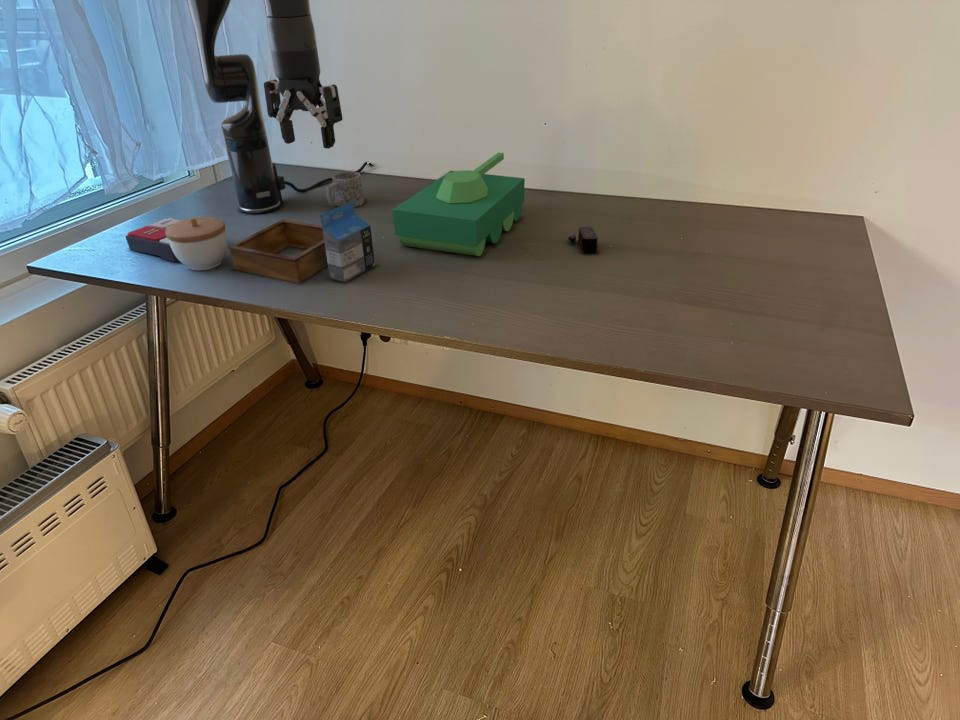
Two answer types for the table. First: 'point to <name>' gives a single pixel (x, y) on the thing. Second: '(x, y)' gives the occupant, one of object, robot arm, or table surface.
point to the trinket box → (198, 242)
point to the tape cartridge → (347, 243)
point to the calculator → (153, 239)
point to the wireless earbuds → (586, 239)
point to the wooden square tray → (263, 246)
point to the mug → (346, 189)
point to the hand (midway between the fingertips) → (309, 144)
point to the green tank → (461, 211)
